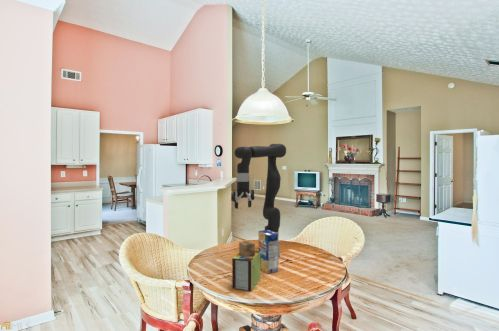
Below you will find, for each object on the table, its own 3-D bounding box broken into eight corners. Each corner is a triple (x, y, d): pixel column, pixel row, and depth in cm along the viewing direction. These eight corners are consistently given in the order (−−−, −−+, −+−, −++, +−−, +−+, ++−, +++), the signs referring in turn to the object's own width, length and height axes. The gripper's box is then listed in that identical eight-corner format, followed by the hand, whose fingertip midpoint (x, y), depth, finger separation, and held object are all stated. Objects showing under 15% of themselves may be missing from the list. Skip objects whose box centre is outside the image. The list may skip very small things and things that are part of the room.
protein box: (260, 279, 152) (260, 250, 152) (251, 291, 138) (251, 260, 138) (242, 276, 156) (242, 248, 156) (231, 288, 141) (231, 257, 141)
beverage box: (268, 274, 159) (268, 235, 159) (258, 267, 169) (258, 230, 168) (278, 271, 162) (278, 233, 162) (267, 265, 172) (268, 229, 171)
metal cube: (249, 251, 150) (249, 240, 150) (254, 255, 145) (254, 243, 145) (239, 253, 148) (239, 242, 147) (244, 257, 142) (244, 245, 142)
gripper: (250, 179, 173) (250, 206, 173) (229, 180, 166) (229, 208, 166) (256, 180, 166) (256, 207, 167) (235, 181, 159) (235, 210, 160)
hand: (243, 207), depth 166 cm, fingers open, 8 cm apart
